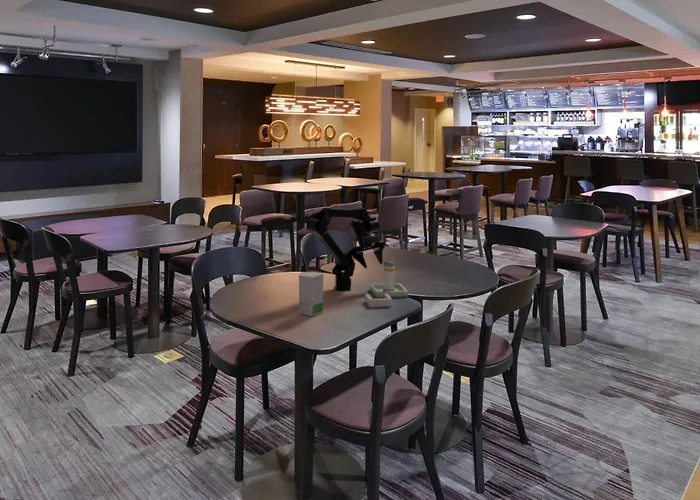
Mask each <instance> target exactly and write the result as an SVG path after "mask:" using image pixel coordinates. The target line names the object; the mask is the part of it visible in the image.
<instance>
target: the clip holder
mask: <svg viewBox="0 0 700 500" xmlns="http://www.w3.org/2000/svg"><path fill="white" fill-rule="evenodd" d="M383 295H384V297H385V298H373V296H372V295H371V294H370V293H365V297H364V298H365V303H366V304H367V306H368V307H369V308H379V307H383V308H384V307H392V306H393V298H391V297H390V296H389V295H388V294H383Z"/></svg>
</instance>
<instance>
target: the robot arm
mask: <svg viewBox="0 0 700 500" xmlns="http://www.w3.org/2000/svg"><path fill="white" fill-rule="evenodd" d="M332 218H348V219H352V220H351V221H349V224H348V226H347V228H348V229H350V228H352V230H353V234H354V236H355V242H357V243H358V246H353V247H352V248H350V249H349V250H347V253H346V252H343V251H342V249H341V248H340V247H339V246H338V244H337V243H336V241H335V240H334V239H333V238H332V236H331V235H330V234H329V229H328V226H329V225H330V223H331V220H332ZM354 220H356V221H354ZM380 227H381V226H380V223H379V221H378V220H377V217H374V216H373V217H371V216H370V214H369V213H368V210H367V208H364V207H359V206H352V207H349V208H336V207H335V208H334V207H327V206H326V207H323V208H321V210H319V211H318V212H316V213H315V214H313V215H312V216H311V217H310V218H309V219H308V220H307V221H306V225H305V228H306V231H308V232H309V233H310V234H311V235H313V236H314V237H316V238H317V239H318V240H319V241H320V242H321V243H322V245H323V246H324V247H325V249H326V250H327V251H328V252H329V254H330V255H331V257H332V258H334V264H335V265H334V266H333V268H332V269H331V273H332V275H334V276H335V277H334V278H335V279H334V281H335V282H334V284H335V285H334V288H335V290H336V291H350V290H351V289H352V278H351V277H353V276H354V272H355V268H356V262H355V260H356V261H357V262H358V263H359V264H360V265H361V266H362V267H363V268H364V269H368V265H367V263H366V259H365V256H364V252H367V251H370V250H372V251H373V253H374V256H375V258H376V259H377V262H379V264H380V265H382V264H383V265H384V261H383V252H384V251H383V250H384V249H385V248H386V246H387V242H386V241H385V240H382V239H383V237H382V234H381V232H378V231H379V230H380V229H381V228H380ZM371 233H374V235H372V234H371Z"/></svg>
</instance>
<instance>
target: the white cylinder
mask: <svg viewBox="0 0 700 500" xmlns="http://www.w3.org/2000/svg"><path fill="white" fill-rule="evenodd" d="M395 267H396V262H395V261H392V260H391V261H389V260H388V261H383V283H382V284H383V292H385V291H394V283H395Z"/></svg>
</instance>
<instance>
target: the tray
mask: <svg viewBox="0 0 700 500" xmlns="http://www.w3.org/2000/svg"><path fill="white" fill-rule="evenodd" d="M383 284H384V283H370V284H369V290H370V292H371V291H372V292H373V293H372V292H371V293H372V294H373V296H374V297H375V299H384V298H385V297H384V295H383V294H388V295H389V296H390V297H393V298H397V297H396V296H400V297H399V298H408V297H409V290H407V288H406V287H405V286H404V285H403V284H402V283H401V282H398V283H397V282H394V291H385V292H383Z"/></svg>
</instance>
